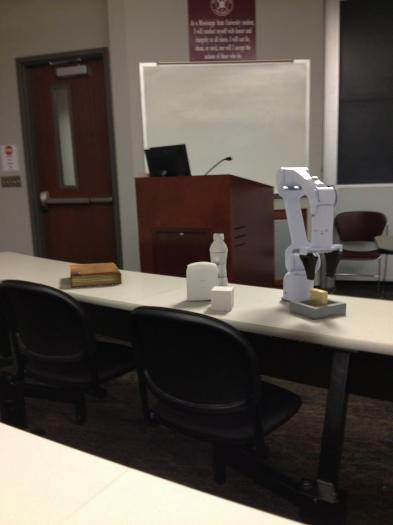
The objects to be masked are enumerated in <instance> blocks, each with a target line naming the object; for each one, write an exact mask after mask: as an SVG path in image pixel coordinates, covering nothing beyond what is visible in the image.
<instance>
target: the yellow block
mask: <svg viewBox="0 0 393 525" xmlns="http://www.w3.org/2000/svg"><path fill="white" fill-rule="evenodd" d="M328 294H329V292H328V291H327V290H323V289H319V288H314V289H310V295H309V305H310V306H313V307H319V306H324V305H327V299H328V297H329V295H328Z"/></svg>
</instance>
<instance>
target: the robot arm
mask: <svg viewBox="0 0 393 525" xmlns="http://www.w3.org/2000/svg"><path fill="white" fill-rule="evenodd" d="M310 172H311V171H310V169H309V168H308V167H306V166H304V167H282V166H281V167H278V168H277V171H276V175H275V184H276V190H277V193H278V196H280V197H281V198H282V199H283V203H284V209H285V213H286V214H285V215H286V221H287V224H288V229H289V236H290V242H291V244H290V245H289V246H287V248H286V249H285V251H284V265H285V269H286V271H287V272H286V273H285V275H284V276H283V282H282V286H283V290H282V296H281V297H280V299H281V300H286V301H289V302H290V301H296V300H301V299H307V298H309V295H310V289H315V288H314V286H315V285H314V283H315V282H314V281H315V277H316V274H317V272H318V271H319V269H320V268H321V263H322V262H321V261H322V260H321V256H320V254H323V255H324V259H325V260H324V261H325V271H326V273H325V274H326V277H327V278H333V279H334V277H335V274H336V271H337V268H338V265H339V264H340V262H341V260H342V258H343V257H344V252H343V244H339V243H338V244H337V243H336V244H333V234H334V232H333V230H334V228H333V227H334V208H335V207H336V206H337V204H338V202H339V193H338V189H337V188H336V186H333V185H332V186H329V187H328V186H327V185H326V184H325V183H324V182H322V180H320V179H319V177H318V176H312V177H311V173H310ZM304 196H306V198H308V203H309V208H310V209H309V212H310V214H311V235H310V236H311V238H310V239H311V240H310V242H309V241H308V237H307V232H306V228H305V227H306V226H305V222H304V217H303V213H302V208H301V203H300V202H301V201H300V199H301V198H303V197H304Z"/></svg>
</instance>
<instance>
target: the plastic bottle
mask: <svg viewBox="0 0 393 525" xmlns="http://www.w3.org/2000/svg"><path fill="white" fill-rule="evenodd" d="M224 240H225V236H224V233H213V242H211V245H210V247H209V255H210V263H214V264H216V266H217V269H218V286H221V287H228V285H229V280H228V277H227V258H228V252H229V250H228V246H227V244H226V243H225V241H224Z"/></svg>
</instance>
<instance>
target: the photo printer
mask: <svg viewBox="0 0 393 525" xmlns="http://www.w3.org/2000/svg"><path fill="white" fill-rule="evenodd" d="M186 267H187V268H186V272H185V273H186V274H185V278H186V300H187V301H189V302H194V301H195V302H196V301H197V302H199V301H211V290H212V289H213V287H214V286H218V269H217V266H216V264H214V263H211V261H210V262H209V261H198V262H191V263H189V264H187V266H186Z"/></svg>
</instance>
